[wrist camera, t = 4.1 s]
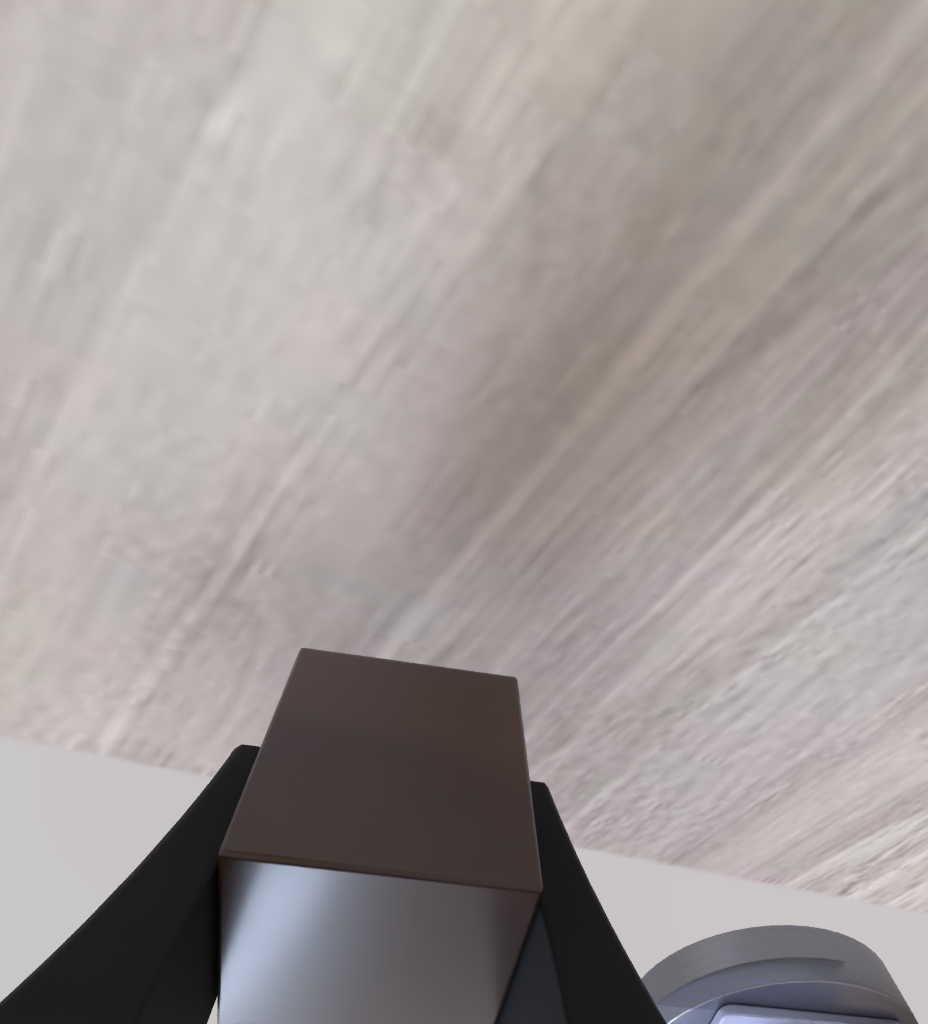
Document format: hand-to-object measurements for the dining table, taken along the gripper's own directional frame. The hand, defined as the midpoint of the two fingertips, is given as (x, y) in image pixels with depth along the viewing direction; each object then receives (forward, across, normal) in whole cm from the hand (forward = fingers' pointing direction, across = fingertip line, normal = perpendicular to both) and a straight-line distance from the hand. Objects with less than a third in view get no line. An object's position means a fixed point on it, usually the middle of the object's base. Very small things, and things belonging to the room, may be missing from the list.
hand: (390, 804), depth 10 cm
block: (+1, 0, 0) cm, 1 cm away
